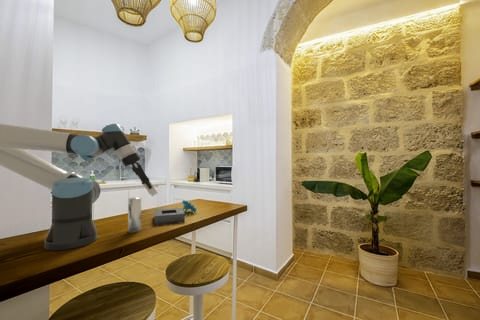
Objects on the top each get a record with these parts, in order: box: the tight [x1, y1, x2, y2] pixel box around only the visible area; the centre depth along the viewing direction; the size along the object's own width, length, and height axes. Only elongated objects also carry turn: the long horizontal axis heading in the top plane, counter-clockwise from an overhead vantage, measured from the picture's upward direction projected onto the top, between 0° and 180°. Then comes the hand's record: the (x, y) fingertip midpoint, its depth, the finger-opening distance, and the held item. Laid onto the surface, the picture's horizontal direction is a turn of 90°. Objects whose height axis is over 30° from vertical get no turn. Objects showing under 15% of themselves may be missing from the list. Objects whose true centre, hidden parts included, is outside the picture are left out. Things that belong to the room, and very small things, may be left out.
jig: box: [154, 207, 186, 225], centre depth 107 cm, size 14×14×4 cm
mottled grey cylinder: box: [127, 197, 142, 234], centre depth 89 cm, size 5×5×14 cm
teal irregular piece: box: [182, 199, 198, 214], centre depth 121 cm, size 11×6×10 cm
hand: (153, 193), depth 98 cm, fingers open, 13 cm apart
